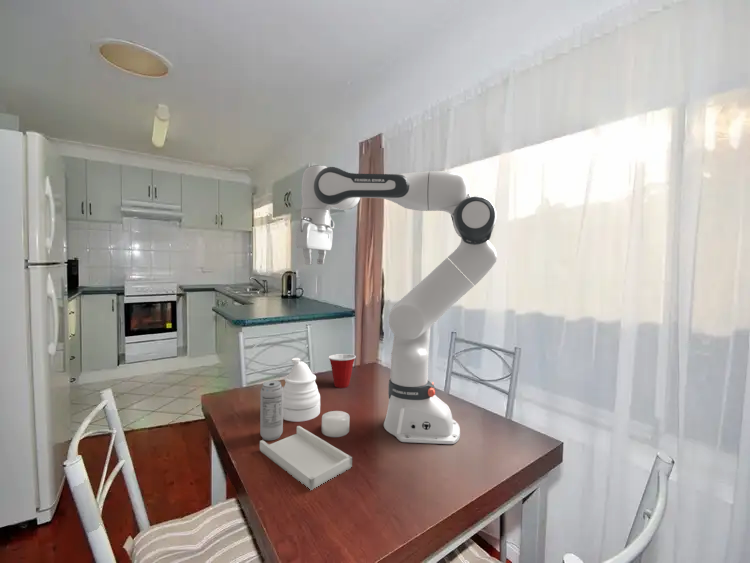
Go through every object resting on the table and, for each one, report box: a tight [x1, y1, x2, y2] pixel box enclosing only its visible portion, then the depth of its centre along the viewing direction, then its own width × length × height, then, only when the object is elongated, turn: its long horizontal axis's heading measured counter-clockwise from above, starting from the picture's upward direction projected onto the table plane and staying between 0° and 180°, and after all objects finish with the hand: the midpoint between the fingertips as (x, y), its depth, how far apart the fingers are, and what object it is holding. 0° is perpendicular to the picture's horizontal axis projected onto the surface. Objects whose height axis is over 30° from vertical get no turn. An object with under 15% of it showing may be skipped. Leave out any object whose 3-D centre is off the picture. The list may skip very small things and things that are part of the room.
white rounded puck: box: [321, 410, 351, 438], centre depth 100 cm, size 8×8×4 cm
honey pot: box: [282, 357, 321, 423], centre depth 111 cm, size 13×13×18 cm
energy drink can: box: [259, 379, 284, 441], centre depth 96 cm, size 6×6×15 cm
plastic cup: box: [328, 353, 357, 389], centre depth 136 cm, size 11×11×12 cm
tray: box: [259, 425, 353, 491], centre depth 85 cm, size 22×12×2 cm, turn 47°
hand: (314, 264), depth 108 cm, fingers open, 8 cm apart
